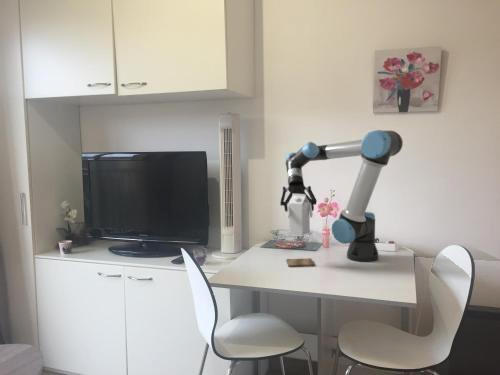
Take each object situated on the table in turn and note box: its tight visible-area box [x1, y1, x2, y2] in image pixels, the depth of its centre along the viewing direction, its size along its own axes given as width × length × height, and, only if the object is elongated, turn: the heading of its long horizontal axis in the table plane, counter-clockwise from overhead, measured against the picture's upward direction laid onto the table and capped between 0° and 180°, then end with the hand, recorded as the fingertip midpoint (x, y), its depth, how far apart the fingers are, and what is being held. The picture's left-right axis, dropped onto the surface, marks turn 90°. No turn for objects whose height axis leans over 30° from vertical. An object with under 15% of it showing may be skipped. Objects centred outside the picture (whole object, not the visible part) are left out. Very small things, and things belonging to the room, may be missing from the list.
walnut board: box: [285, 257, 315, 268], centre depth 200 cm, size 12×10×1 cm
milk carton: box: [288, 193, 311, 236], centre depth 197 cm, size 7×7×19 cm
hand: (300, 216), depth 194 cm, fingers closed on milk carton, 10 cm apart
